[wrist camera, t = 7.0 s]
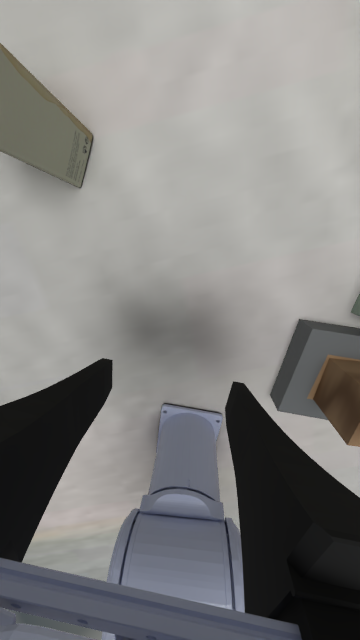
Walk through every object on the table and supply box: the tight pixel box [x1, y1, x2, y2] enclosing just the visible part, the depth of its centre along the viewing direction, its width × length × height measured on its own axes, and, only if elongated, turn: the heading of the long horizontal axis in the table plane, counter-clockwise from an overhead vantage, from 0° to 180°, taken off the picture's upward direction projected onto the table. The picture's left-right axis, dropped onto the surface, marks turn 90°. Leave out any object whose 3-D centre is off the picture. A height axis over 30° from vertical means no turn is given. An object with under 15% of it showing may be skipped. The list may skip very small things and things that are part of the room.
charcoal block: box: [270, 319, 360, 420], centre depth 20 cm, size 10×10×3 cm
